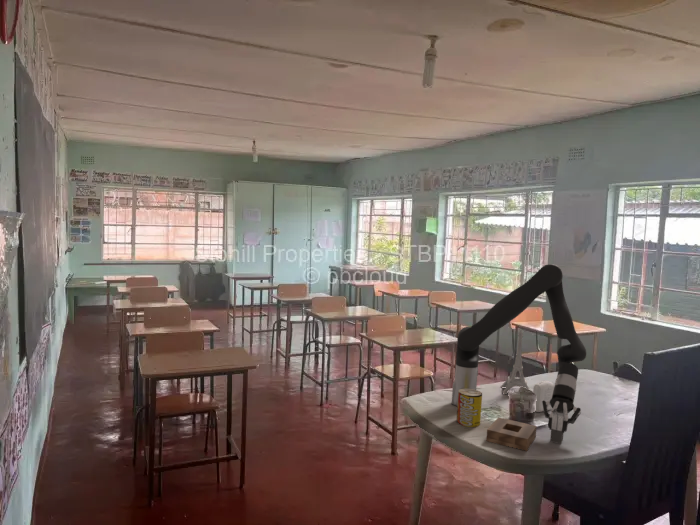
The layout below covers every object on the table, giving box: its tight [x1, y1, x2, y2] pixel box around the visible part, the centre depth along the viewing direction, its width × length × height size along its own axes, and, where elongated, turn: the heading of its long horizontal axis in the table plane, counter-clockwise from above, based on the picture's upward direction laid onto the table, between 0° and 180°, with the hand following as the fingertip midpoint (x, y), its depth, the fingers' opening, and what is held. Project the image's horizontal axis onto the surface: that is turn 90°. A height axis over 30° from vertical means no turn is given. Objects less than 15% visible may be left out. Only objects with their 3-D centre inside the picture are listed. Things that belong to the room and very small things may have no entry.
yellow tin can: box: [456, 389, 483, 428], centre depth 204 cm, size 9×9×12 cm
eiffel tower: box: [501, 328, 530, 394], centre depth 245 cm, size 13×13×30 cm
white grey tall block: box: [550, 409, 565, 445], centre depth 190 cm, size 4×4×11 cm
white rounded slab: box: [532, 380, 555, 413], centre depth 223 cm, size 10×4×12 cm, turn 123°
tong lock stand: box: [485, 416, 538, 452], centre depth 190 cm, size 14×15×4 cm
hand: (556, 430), depth 188 cm, fingers closed on white grey tall block, 3 cm apart
